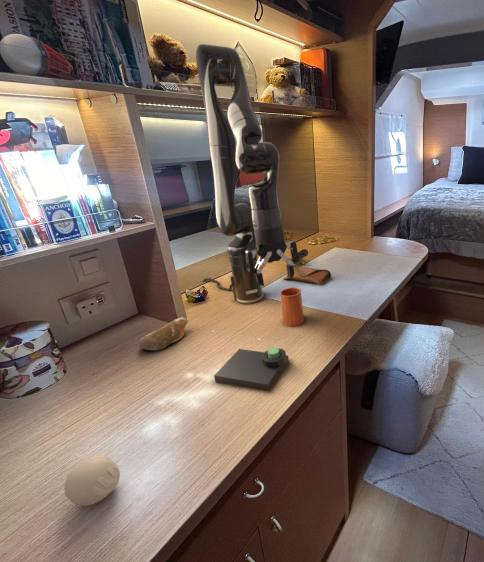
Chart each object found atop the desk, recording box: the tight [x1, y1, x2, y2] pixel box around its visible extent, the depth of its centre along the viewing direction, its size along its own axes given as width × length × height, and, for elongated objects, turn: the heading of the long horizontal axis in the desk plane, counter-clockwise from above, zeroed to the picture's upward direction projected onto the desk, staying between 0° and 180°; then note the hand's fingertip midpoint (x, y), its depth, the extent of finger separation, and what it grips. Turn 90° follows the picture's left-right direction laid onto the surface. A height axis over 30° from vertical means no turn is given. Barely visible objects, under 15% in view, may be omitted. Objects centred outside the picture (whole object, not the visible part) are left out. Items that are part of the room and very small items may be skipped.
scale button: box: [267, 347, 280, 359], centre depth 83 cm, size 3×3×2 cm
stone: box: [135, 316, 189, 351], centre depth 96 cm, size 7×6×15 cm
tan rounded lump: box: [64, 455, 121, 507], centre depth 54 cm, size 7×7×7 cm
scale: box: [213, 347, 290, 392], centre depth 82 cm, size 14×11×4 cm
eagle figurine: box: [289, 248, 309, 267], centre depth 150 cm, size 8×7×9 cm
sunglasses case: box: [283, 264, 332, 286], centre depth 135 cm, size 18×7×7 cm, turn 66°
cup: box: [279, 287, 305, 327], centre depth 103 cm, size 6×6×10 cm
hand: (276, 281), depth 95 cm, fingers open, 8 cm apart
